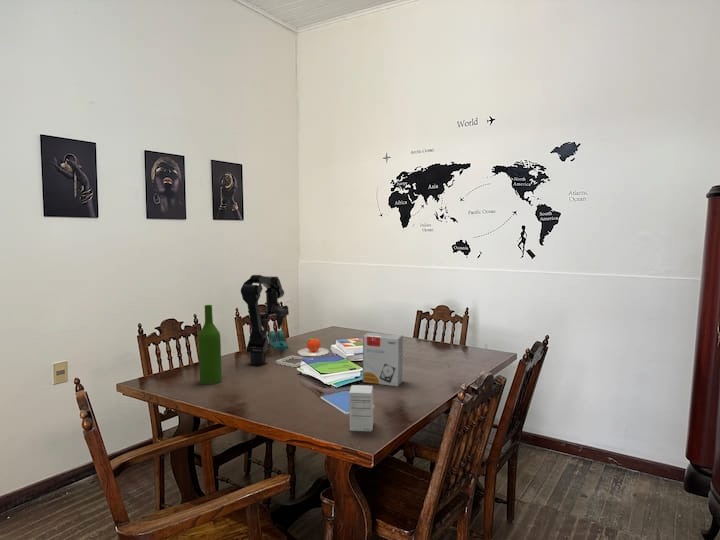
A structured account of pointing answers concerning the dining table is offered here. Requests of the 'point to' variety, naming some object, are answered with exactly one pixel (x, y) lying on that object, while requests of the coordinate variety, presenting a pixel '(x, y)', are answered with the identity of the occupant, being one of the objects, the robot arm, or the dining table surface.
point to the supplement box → (361, 408)
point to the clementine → (313, 344)
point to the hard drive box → (382, 358)
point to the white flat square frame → (289, 363)
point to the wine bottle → (209, 350)
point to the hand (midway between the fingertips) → (272, 330)
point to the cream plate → (309, 353)
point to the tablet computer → (339, 401)
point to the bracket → (277, 340)
